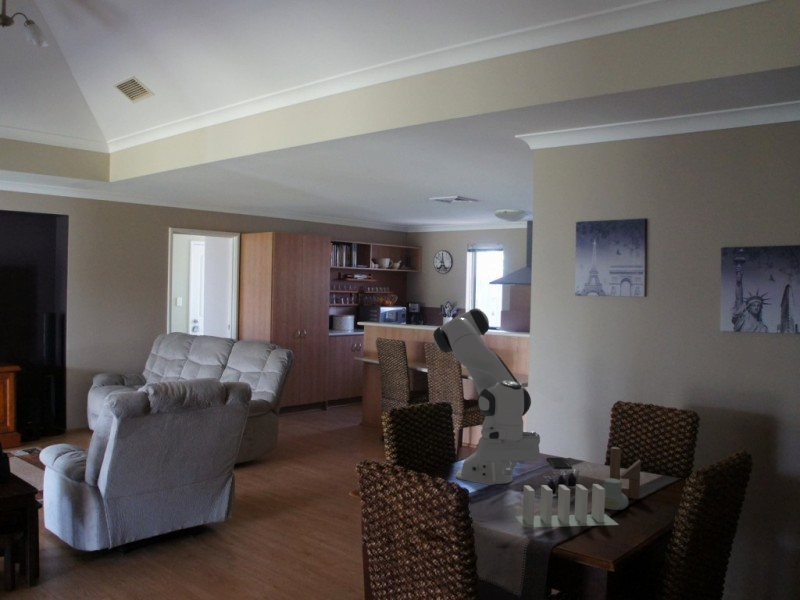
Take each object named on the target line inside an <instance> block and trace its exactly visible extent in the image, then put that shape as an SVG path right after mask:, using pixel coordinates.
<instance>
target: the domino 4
mask: <svg viewBox="0 0 800 600" xmlns="http://www.w3.org/2000/svg"><path fill="white" fill-rule="evenodd" d="M588 494H589V489H588V488H586V487H585V486H584V485H582V484H575V493H574V495H575V497H574V515H575V518H576V519H577V520H578V521H579V522H581V523H587V515H588V502H589V501H588V498H589V495H588Z"/></svg>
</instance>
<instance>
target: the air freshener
mask: <svg viewBox="0 0 800 600" xmlns="http://www.w3.org/2000/svg"><path fill="white" fill-rule="evenodd" d="M621 486H623V483H622V481H621V480H618V479H613V478H610V477H608V478H604V481H603V488H604V489H605V505H604V509H607V510H612V511H621V510H624V509H626V508H627V507H628V506H629V498H627V497H626V496H625V495H624V494H623V493H621Z"/></svg>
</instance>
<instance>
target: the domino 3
mask: <svg viewBox="0 0 800 600" xmlns="http://www.w3.org/2000/svg"><path fill="white" fill-rule="evenodd" d="M557 489H558V490H557V493H558V495H557V514H556V515H557V518H558V519H559V520H560V521H562V522H563V523H564V524H569V515H571V514H570V512H571V511H570V510H571V509H570V508H571V489H570V488H569V487H568V486H566V485H565V484H558V488H557Z"/></svg>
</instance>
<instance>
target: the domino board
mask: <svg viewBox="0 0 800 600" xmlns="http://www.w3.org/2000/svg"><path fill="white" fill-rule="evenodd" d="M514 518H515V519H516V520H517V521H518V523H519V524H520V525H522V527H523V528H525V529H526V528H552V527H553V528H554V527H555V528H556V527H561V528H562V527H589V526H590V527H592V526H595V527H596V526H619V525H620V524H619V523H617V522H616V521H615V520H614V519H612V518H611V517H610V516H609V515H608V514H606V513H604V522H603V523H598V522H597V521H596V520H595V519H594V518H592V517H591V514H588V513H587V523H581V522H579V521H578V520H577V519H576V518H575V514H569V524H564V523H563V522H562V521H560V520H559V519H558V518H557V514H555V515H552V523H551V524H545V523H544V522H543V521H542V520H541V519H540V515H534V525H528V524H527V523H526V522H525V521H524V519H523V515H519V516H518V515H516V516H515V515H514Z"/></svg>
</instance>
